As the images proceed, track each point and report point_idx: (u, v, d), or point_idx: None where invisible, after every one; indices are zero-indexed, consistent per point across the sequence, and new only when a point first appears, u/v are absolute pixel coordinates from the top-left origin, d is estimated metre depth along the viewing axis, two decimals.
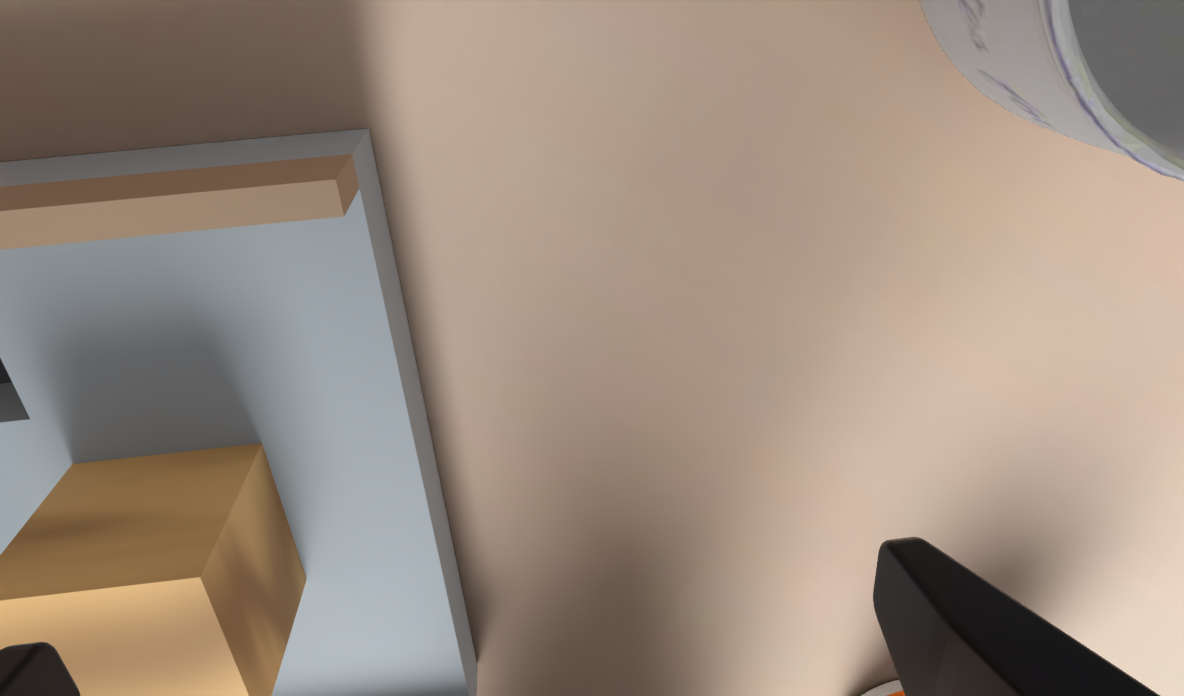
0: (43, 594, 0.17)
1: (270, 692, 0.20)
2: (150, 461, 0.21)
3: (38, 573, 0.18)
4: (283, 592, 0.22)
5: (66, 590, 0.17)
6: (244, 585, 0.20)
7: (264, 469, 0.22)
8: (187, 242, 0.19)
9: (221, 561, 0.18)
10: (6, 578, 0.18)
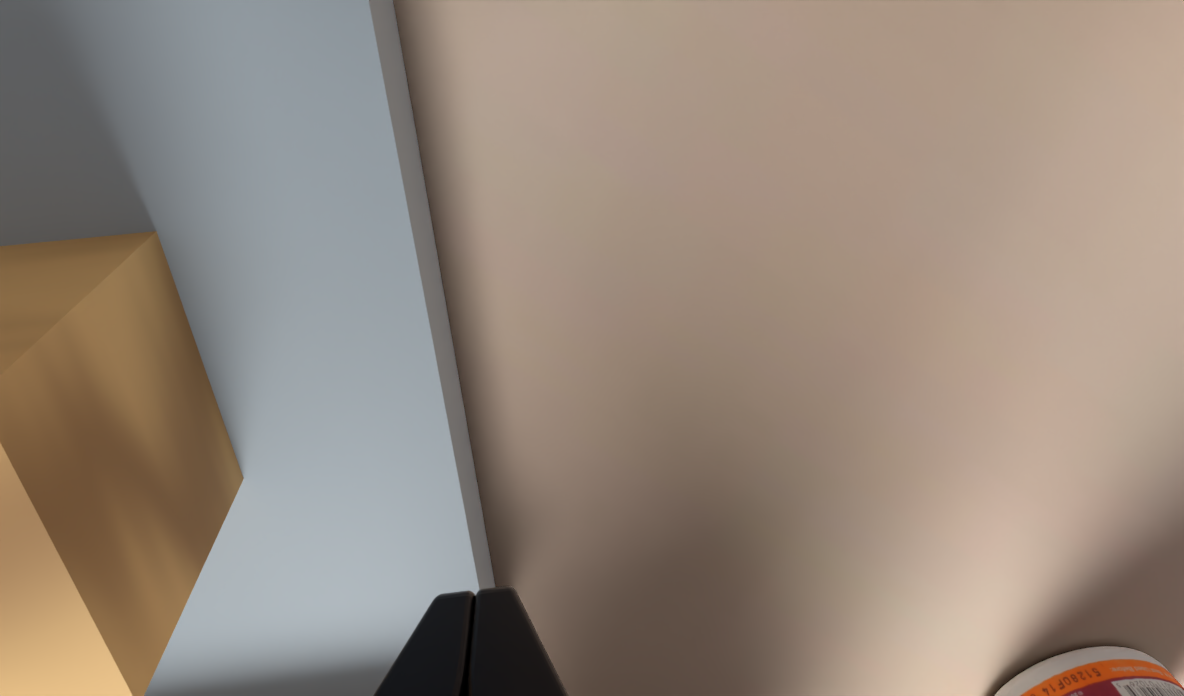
0: None
1: (161, 646, 0.12)
2: None
3: None
4: (195, 486, 0.13)
5: None
6: (104, 448, 0.11)
7: (161, 276, 0.13)
8: None
9: (44, 388, 0.10)
10: None
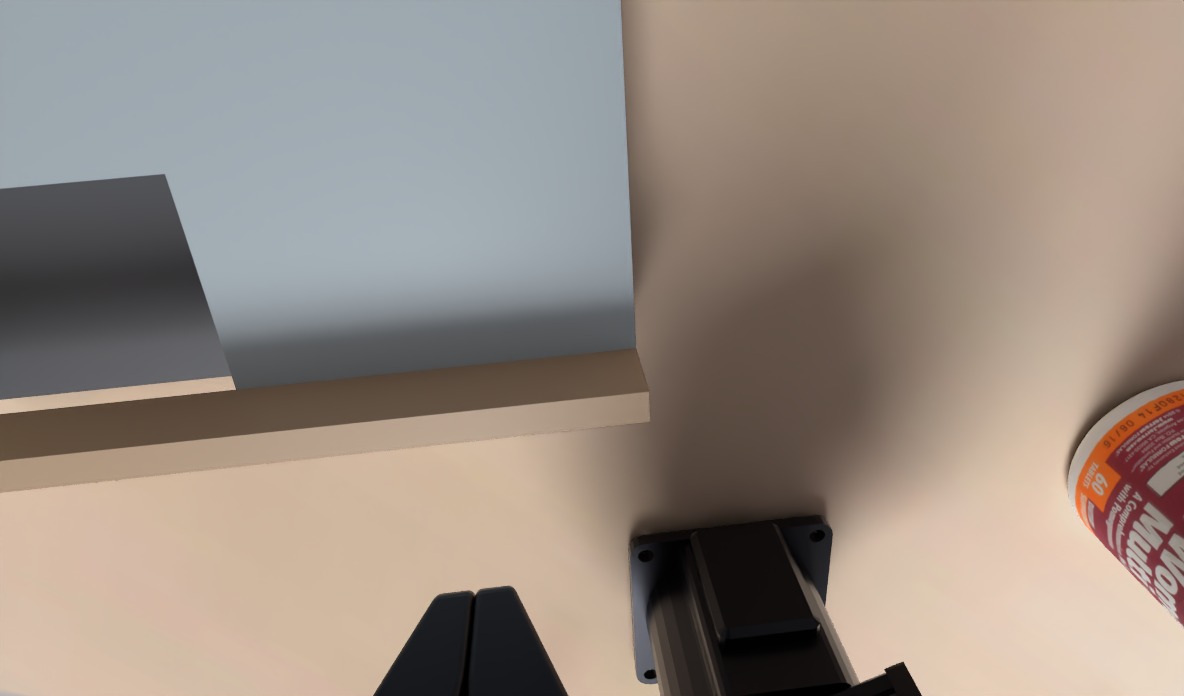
0: None
1: None
2: None
3: None
4: None
5: None
6: None
7: None
8: None
9: None
10: None
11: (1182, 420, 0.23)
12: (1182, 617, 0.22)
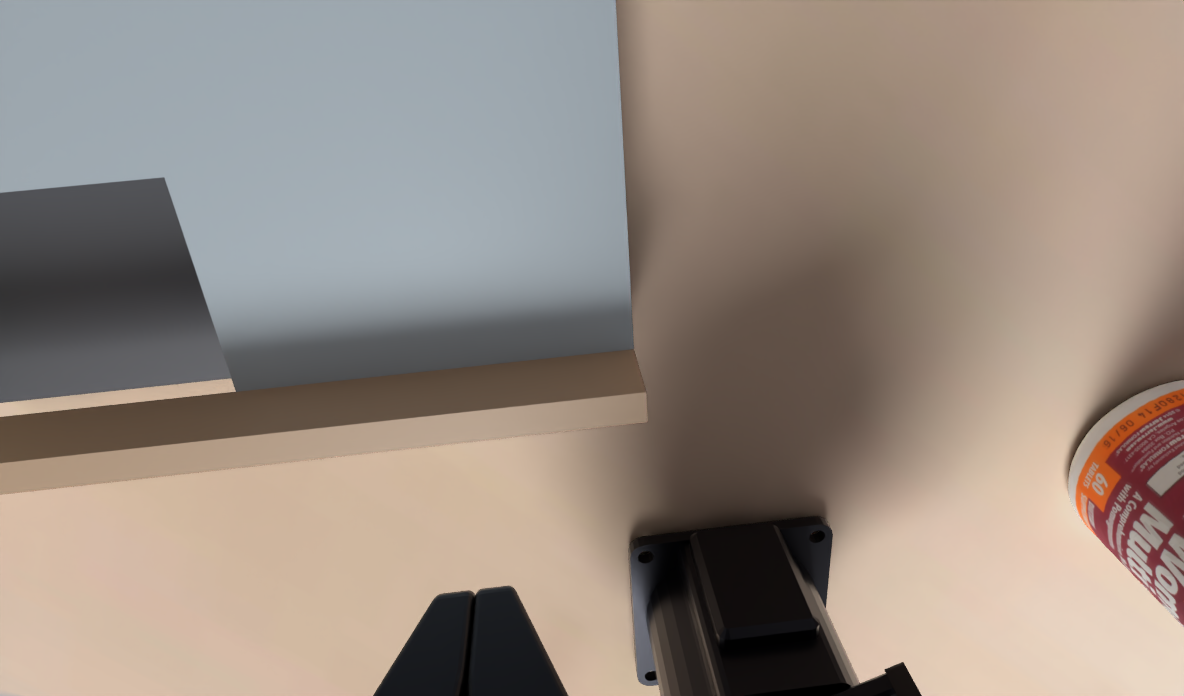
0: None
1: None
2: None
3: None
4: None
5: None
6: None
7: None
8: None
9: None
10: None
11: (1182, 420, 0.23)
12: (1182, 617, 0.22)
